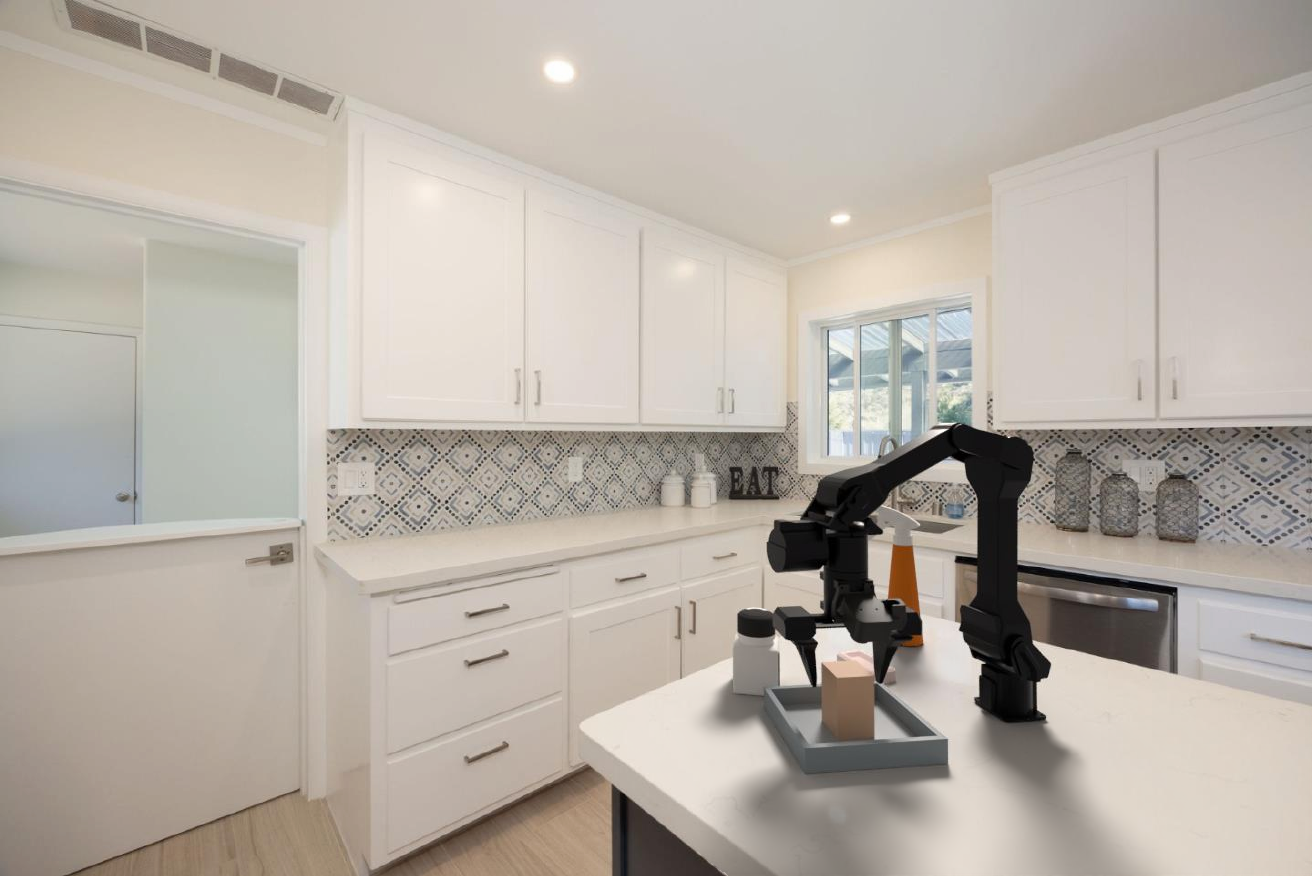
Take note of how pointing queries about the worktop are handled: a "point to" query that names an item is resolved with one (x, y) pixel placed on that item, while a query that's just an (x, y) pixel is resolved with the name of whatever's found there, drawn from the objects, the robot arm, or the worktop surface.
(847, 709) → the carton
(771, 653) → the medicine bottle
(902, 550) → the spray bottle
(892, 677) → the soap bar
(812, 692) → the tray
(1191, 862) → the worktop surface
